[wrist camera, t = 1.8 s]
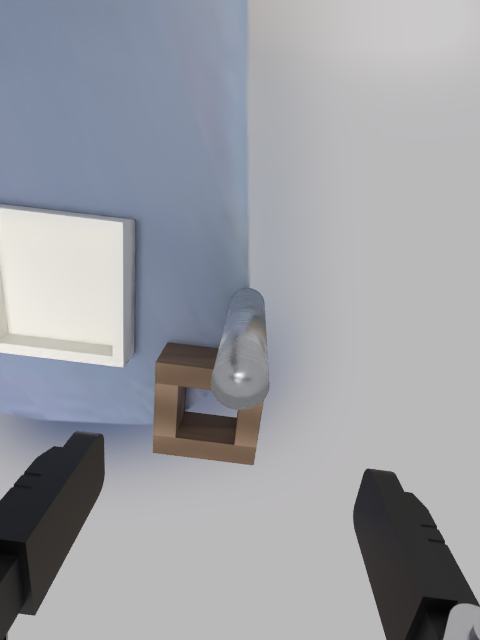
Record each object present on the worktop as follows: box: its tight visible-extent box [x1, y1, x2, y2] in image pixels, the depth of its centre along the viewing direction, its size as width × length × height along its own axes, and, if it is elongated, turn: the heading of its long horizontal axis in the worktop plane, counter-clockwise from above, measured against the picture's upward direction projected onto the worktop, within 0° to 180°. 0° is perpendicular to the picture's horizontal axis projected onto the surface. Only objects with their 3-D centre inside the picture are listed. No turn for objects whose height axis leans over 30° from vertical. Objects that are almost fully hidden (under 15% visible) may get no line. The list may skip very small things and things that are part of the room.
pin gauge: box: [211, 288, 269, 410], centre depth 21 cm, size 3×3×12 cm
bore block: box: [153, 343, 264, 465], centre depth 28 cm, size 8×8×4 cm
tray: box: [0, 204, 136, 367], centre depth 26 cm, size 11×11×2 cm
